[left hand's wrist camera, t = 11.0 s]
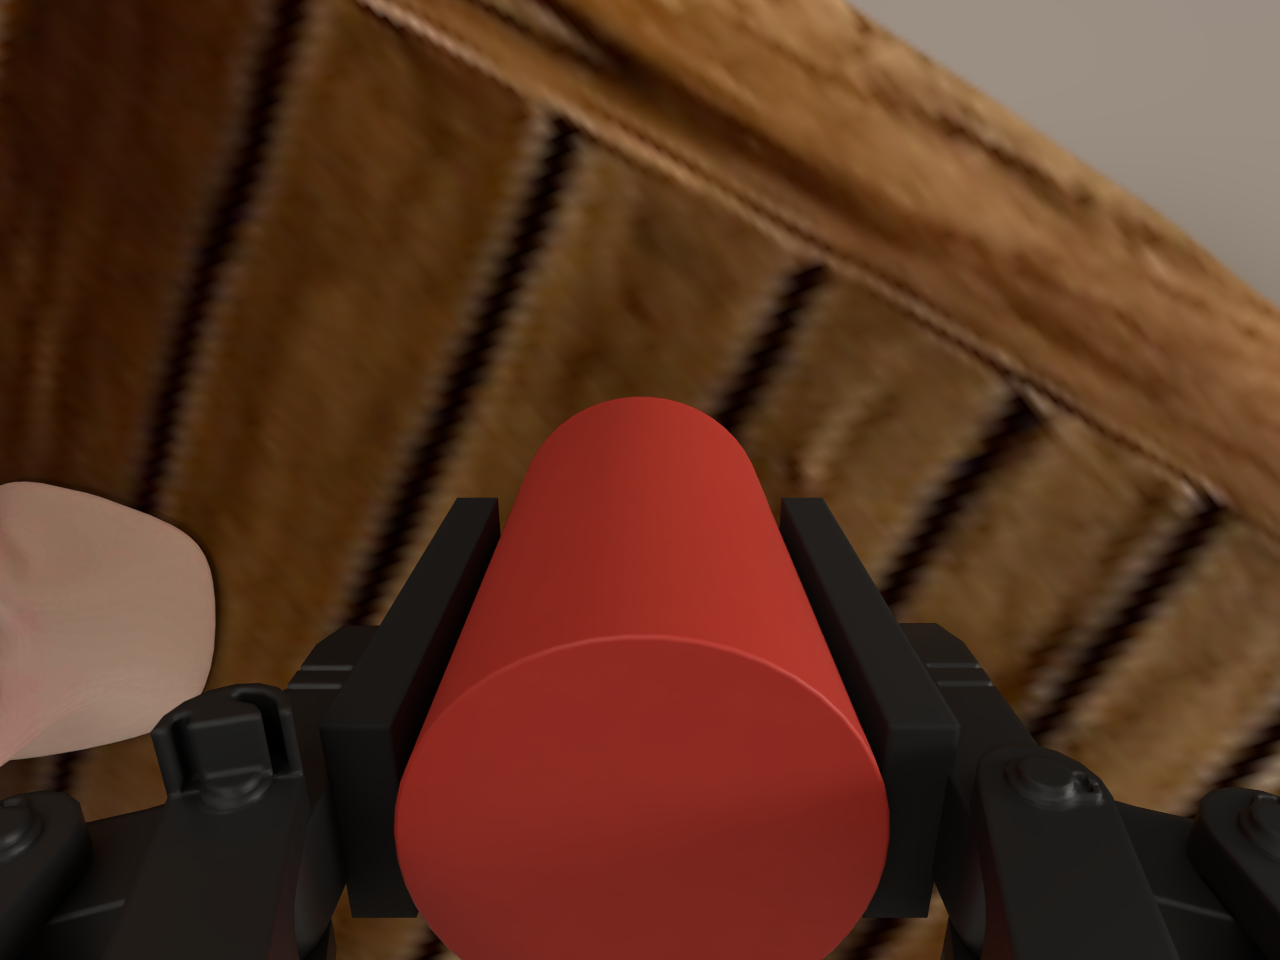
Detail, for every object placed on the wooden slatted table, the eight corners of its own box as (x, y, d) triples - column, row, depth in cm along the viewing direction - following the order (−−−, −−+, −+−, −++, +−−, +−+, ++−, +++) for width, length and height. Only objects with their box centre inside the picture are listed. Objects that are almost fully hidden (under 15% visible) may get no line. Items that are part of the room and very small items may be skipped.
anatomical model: (110, 514, 23) (208, 818, 27) (184, 470, 27) (261, 742, 30) (-323, 540, 23) (-164, 837, 27) (-189, 492, 27) (-67, 759, 31)
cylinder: (701, 354, 16) (779, 550, 7) (797, 563, 17) (956, 935, 9) (477, 459, 16) (292, 756, 8) (588, 650, 18) (540, 1072, 9)
